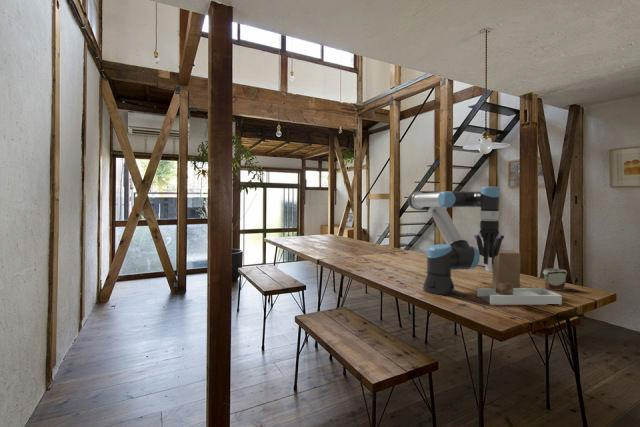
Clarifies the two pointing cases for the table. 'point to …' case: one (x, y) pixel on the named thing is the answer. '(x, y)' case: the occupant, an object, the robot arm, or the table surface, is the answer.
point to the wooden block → (506, 268)
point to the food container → (555, 279)
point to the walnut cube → (504, 288)
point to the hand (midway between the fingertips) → (488, 271)
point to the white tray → (520, 296)
